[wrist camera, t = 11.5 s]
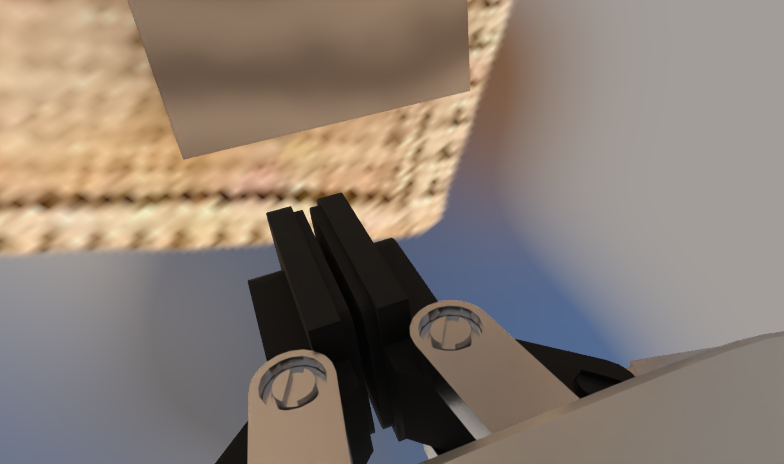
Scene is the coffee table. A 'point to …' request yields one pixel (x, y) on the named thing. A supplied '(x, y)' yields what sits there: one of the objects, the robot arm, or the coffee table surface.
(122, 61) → the coffee table surface
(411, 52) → the brown board with blocks
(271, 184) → the coffee table surface
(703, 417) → the robot arm
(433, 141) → the coffee table surface
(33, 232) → the coffee table surface
